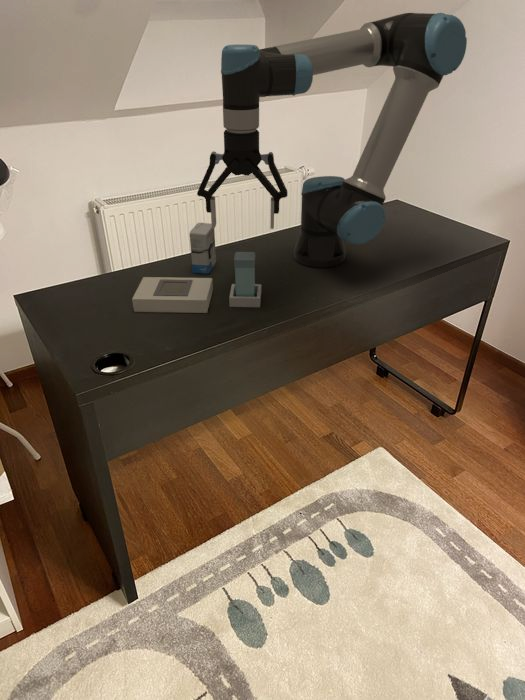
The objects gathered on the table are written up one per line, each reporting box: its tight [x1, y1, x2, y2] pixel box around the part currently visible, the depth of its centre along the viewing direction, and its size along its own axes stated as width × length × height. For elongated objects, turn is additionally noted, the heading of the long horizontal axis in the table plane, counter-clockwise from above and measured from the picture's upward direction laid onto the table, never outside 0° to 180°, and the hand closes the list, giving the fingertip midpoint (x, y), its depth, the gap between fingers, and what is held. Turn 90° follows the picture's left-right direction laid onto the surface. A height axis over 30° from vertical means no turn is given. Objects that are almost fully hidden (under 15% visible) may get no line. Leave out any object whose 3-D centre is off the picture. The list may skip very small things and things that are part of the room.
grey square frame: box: [228, 283, 262, 308], centre depth 133 cm, size 8×8×2 cm
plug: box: [233, 251, 256, 297], centre depth 130 cm, size 5×5×12 cm
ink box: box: [189, 222, 217, 275], centre depth 146 cm, size 8×5×12 cm, turn 168°
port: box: [131, 276, 214, 314], centre depth 132 cm, size 18×12×4 cm, turn 88°
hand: (243, 226), depth 122 cm, fingers open, 13 cm apart
